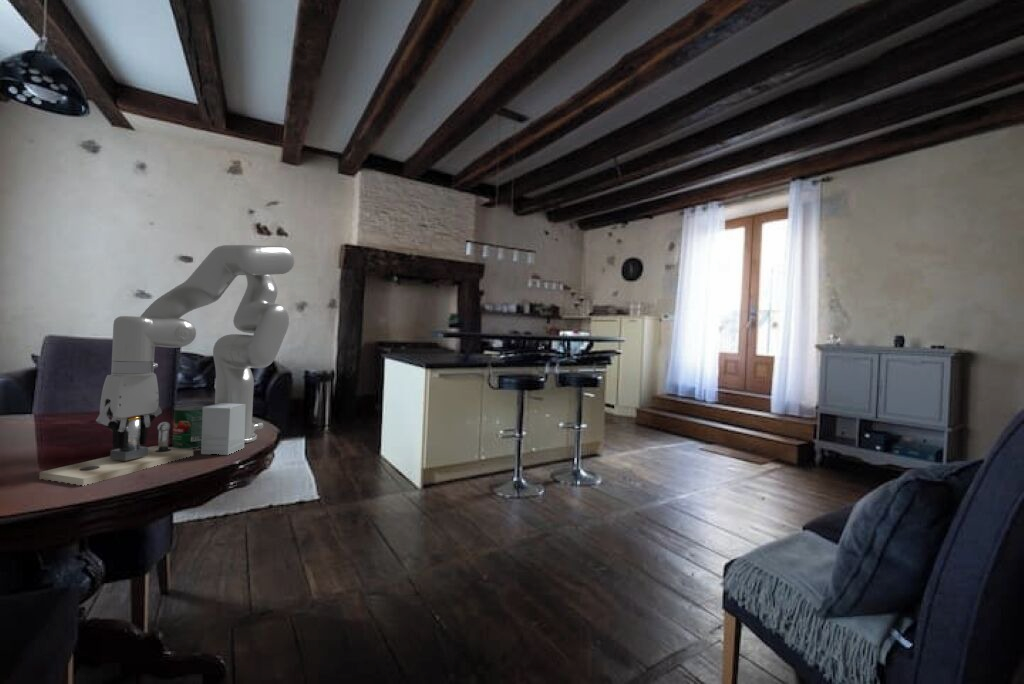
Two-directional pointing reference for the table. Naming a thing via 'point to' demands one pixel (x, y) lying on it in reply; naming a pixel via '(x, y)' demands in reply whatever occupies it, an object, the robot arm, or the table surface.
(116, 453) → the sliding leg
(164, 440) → the fixed leg
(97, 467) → the hole plate
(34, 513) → the table surface
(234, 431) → the supplement box
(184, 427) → the canned tomato
